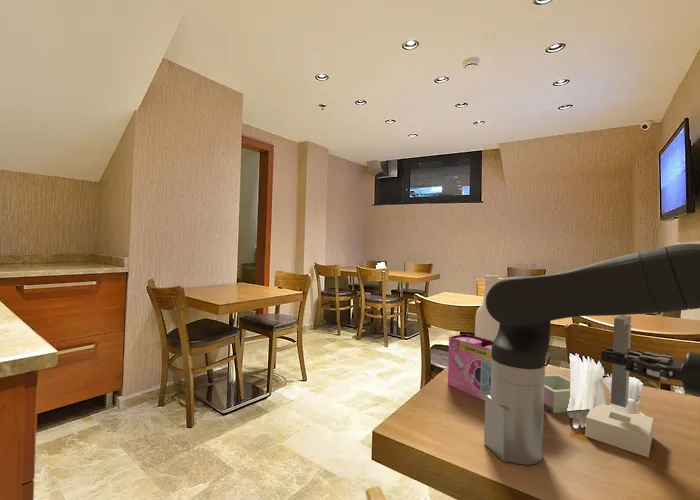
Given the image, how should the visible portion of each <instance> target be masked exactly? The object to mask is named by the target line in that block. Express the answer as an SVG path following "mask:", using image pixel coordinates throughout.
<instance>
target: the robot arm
mask: <svg viewBox="0 0 700 500" xmlns="http://www.w3.org/2000/svg"><path fill="white" fill-rule="evenodd" d="M486 308H487V310H488V312H489V314H490V315H491V316H492V317H493V318H494V319H495V320H496V321H497V322H499V323H500V324H499V330H498V334H497V336H496V338H495V340H494V342H493V344H492V353H491V385H490V395H487V396H486V398H485V401H484V405H485V406H484V428H483V429H484V431H483V436H484V437H483V443H484V445H485V446H486V447H487V448H488V449H489V450H491V451H492V453H493V454H495V456H496V457H498V459H500V460H501V461H502V462H504V463H505V462H510V463H512V464H513V463H514V464H519V465H527V466H528V465H535V464H538V463H539V462H541V461H542V458H543V441H544V440H543V438H544V436H543V435H544V409H545V408H544V386H545V375H546V357H547V353H548V349H549V346H550V336H551V323H552V321H557V320H562V319H569V318H575V317H590V316H591V317H599V316H600V317H601V316H603V317H604V316H606V317H607V316H620V315H626V316H632V315H640V314H642V315H643V314H658V313H671V312H679V311H687V310H689V311H690V310H698V309H700V243H681V244H673V245H668V246H661V247H656V248H652V249H646V250H643V251H637V252H633V253H627V254H624V255H620V256H617V257H612V258H609V259H606V260H602V261H598V262H594V263H592V264H587V265H585V266H582V267H579V268H576V269H571V270H568V271H564V272H559V273H552V274H543V275H536V276H532V275H531V276H529V275H515V276H509V277H505V278H501V279H499V281H498V282H497V283H496V284H494V285H493V286H492V287H491V289H490V290H489V292H488V294H487V297H486ZM600 359H601V361H602V362H605V363H610V364H612V363H613V364H617V365H622V366H623V367H625V370H627V371H629V373H632V374H635V375H638V376H641V377H644V378H647V379H650V380H653V381H655V382H661V380H663V381H670V380H674V381H680V382H682V388H683V391H684V392H685V393H687V394H689V395H692V396H693V395H694V396H698V397H700V353H698V352H693V351H689V352H686V354H685V356H684V361H683V360H680V359H676V358H673V356H672V355H671V354H669V353H667V352H666V353H664V352H654V351H646V350H640V349H635V350H634V351H633V350H630V355H628V354H626V355H624V354H620V353H615V352H613V347H612V348H611V347H607V348H605V349H604V350H602V351H601V355H600Z"/></svg>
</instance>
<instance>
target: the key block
mask: <svg viewBox="0 0 700 500" xmlns="http://www.w3.org/2000/svg"><path fill="white" fill-rule="evenodd" d="M615 408H616V407H615ZM615 408H614V406H611V405H608V404H604V403H601V405H599V406H596V407H595V408H594V409H592V410H591V409H590V410H588V413H587V414H586V416H585V431H584V432H585V434H584V435H585V437H587V438H589V439H593V440H595V441H598V442H601V443H605V444H608V445H610V446H613V447H616V448H620V449H622V450H625V451H628V452H630V453H633V454H635V455H636V454H637V455H640V456H642V457H646V458H648V459H649V457H650V453H651V447H652V441H653V437H654V436H653V431H654V417H651V416H648V415H643V414H640V413H637V414H627V413H623V412H620V411H618V410H616V409H615Z"/></svg>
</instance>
